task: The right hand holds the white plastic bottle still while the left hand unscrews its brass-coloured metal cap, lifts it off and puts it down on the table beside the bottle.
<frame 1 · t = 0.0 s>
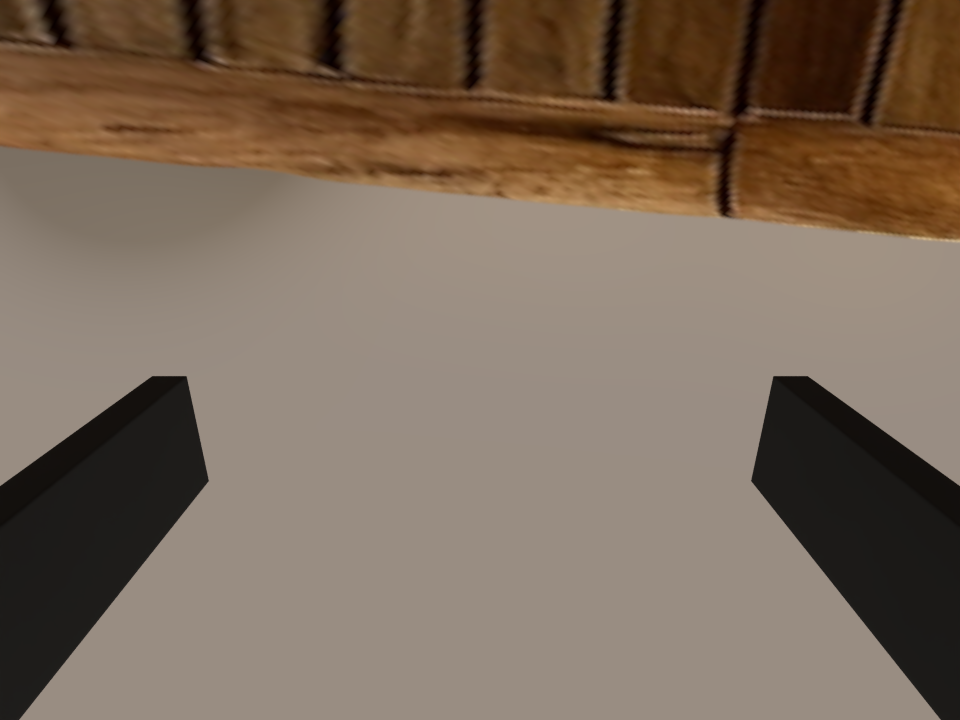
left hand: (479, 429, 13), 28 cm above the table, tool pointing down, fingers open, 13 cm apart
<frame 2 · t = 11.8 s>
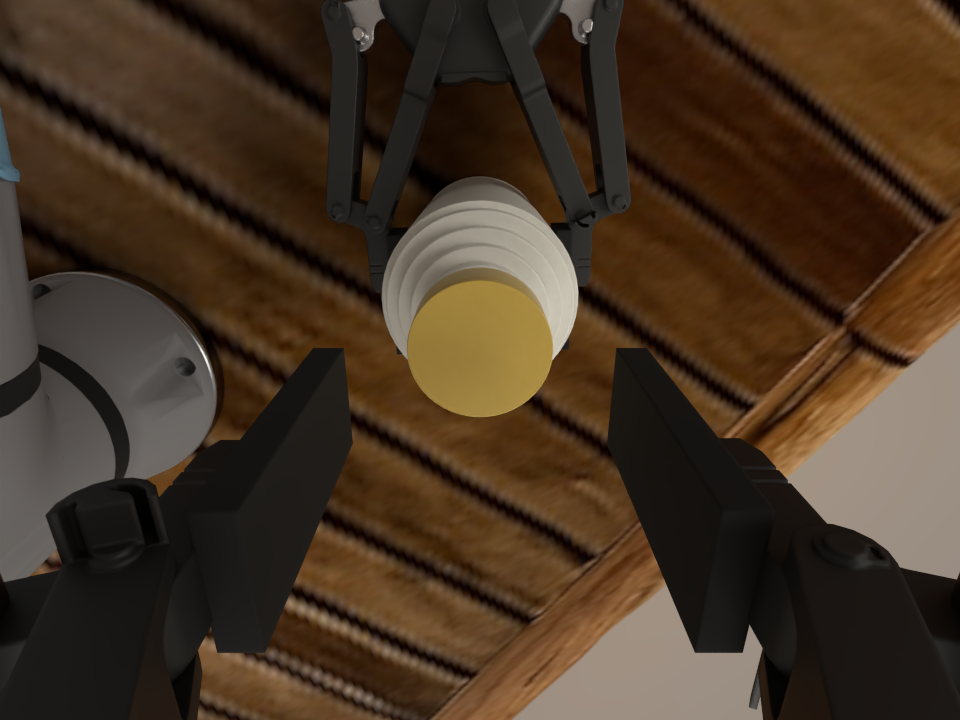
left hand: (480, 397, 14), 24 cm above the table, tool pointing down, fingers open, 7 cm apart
right hand: (482, 343, 32), fingers closed on bottle, 8 cm apart
cap: (480, 348, 18), point 20 cm above the table, screwed on, not yet turned
bottle: (479, 240, 36), on the table, touching right hand
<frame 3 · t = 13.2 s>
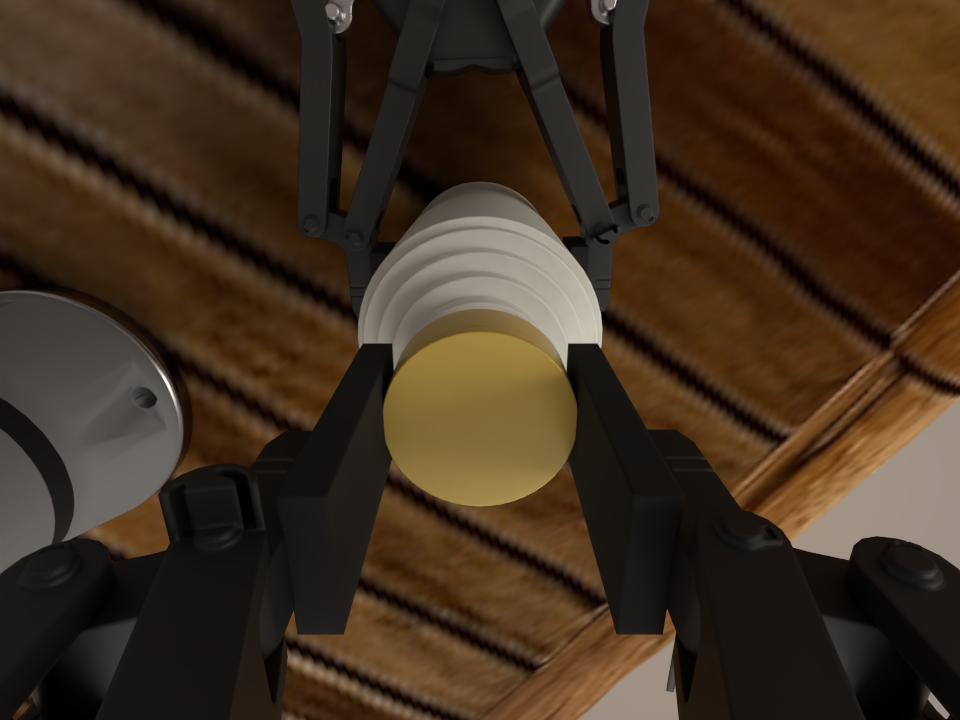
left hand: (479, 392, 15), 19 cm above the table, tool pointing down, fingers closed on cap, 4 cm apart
cap: (480, 418, 13), point 20 cm above the table, screwed on, not yet turned, touching left hand
bottle: (480, 254, 32), on the table, touching right hand
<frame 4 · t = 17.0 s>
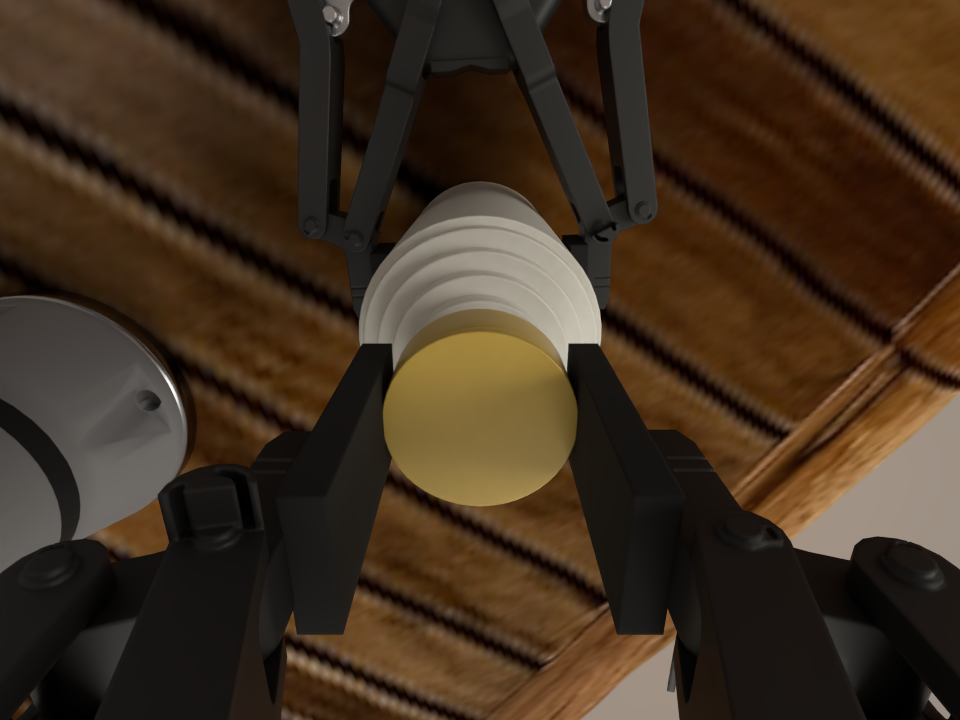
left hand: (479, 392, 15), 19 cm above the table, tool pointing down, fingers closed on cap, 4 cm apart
cap: (480, 418, 13), point 20 cm above the table, turned 122° so far, risen 0.1 cm, still on its thread, touching left hand
bottle: (480, 253, 32), on the table, touching right hand
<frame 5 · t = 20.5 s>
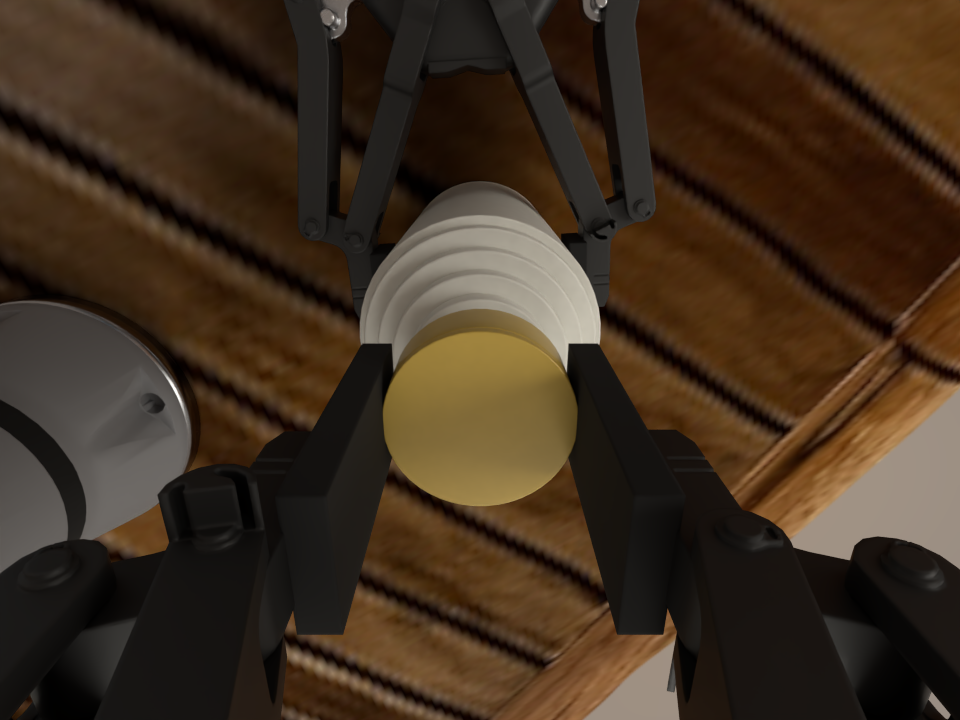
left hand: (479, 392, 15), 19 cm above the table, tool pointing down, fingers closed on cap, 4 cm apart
cap: (480, 418, 13), point 21 cm above the table, turned 244° so far, risen 0.3 cm, still on its thread, touching left hand
bottle: (480, 253, 32), on the table, touching right hand
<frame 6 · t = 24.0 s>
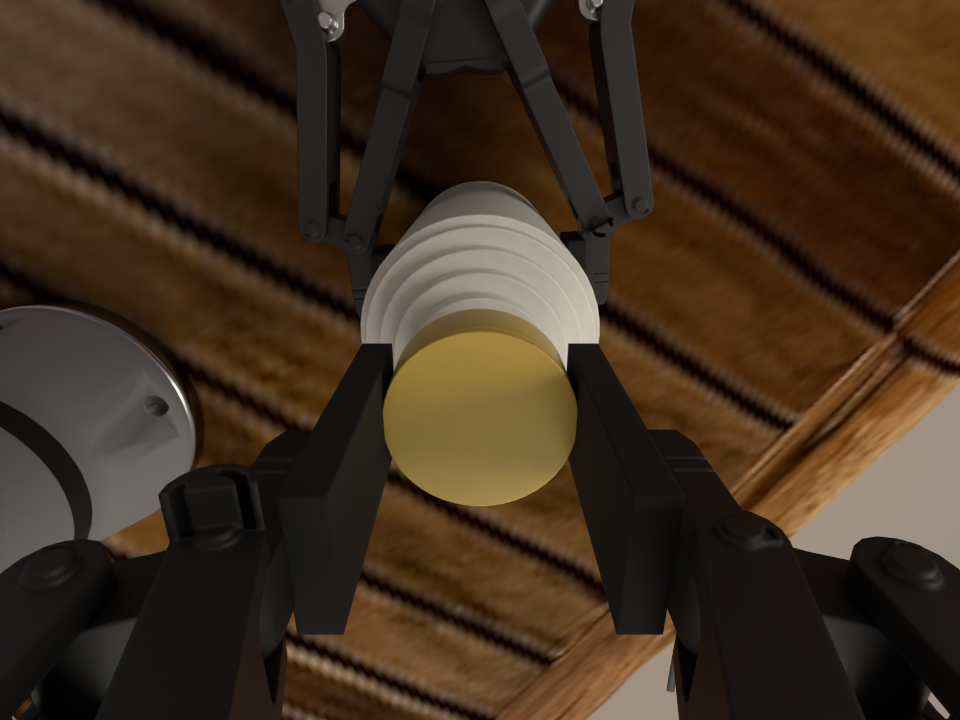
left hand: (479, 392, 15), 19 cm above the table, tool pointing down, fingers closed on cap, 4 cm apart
cap: (480, 418, 13), point 21 cm above the table, turned 366° so far, risen 0.4 cm, still on its thread, touching left hand
bottle: (480, 253, 32), on the table, touching right hand
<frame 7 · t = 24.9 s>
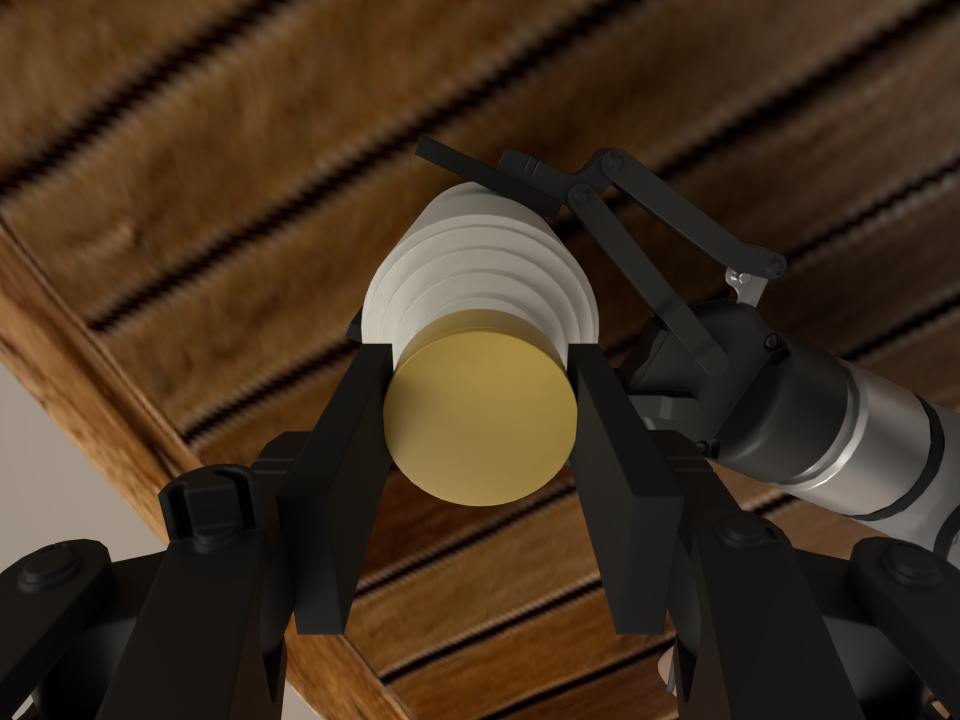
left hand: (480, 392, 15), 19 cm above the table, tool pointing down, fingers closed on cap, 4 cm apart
right hand: (386, 238, 26), fingers closed on bottle, 8 cm apart
cap: (480, 418, 13), point 21 cm above the table, off its thread, touching left hand
anatomical model: (743, 665, 45), on the table
bottle: (480, 253, 32), on the table, touching right hand
when the left hand's fingers open (1 cm above the table, at t = 30.3 s): cap drops 1 cm, point 2 cm above the table.
when the right hand's fingers open (7 cm above the table, at t = 31.5 s): bottle stays where it is, on the table.
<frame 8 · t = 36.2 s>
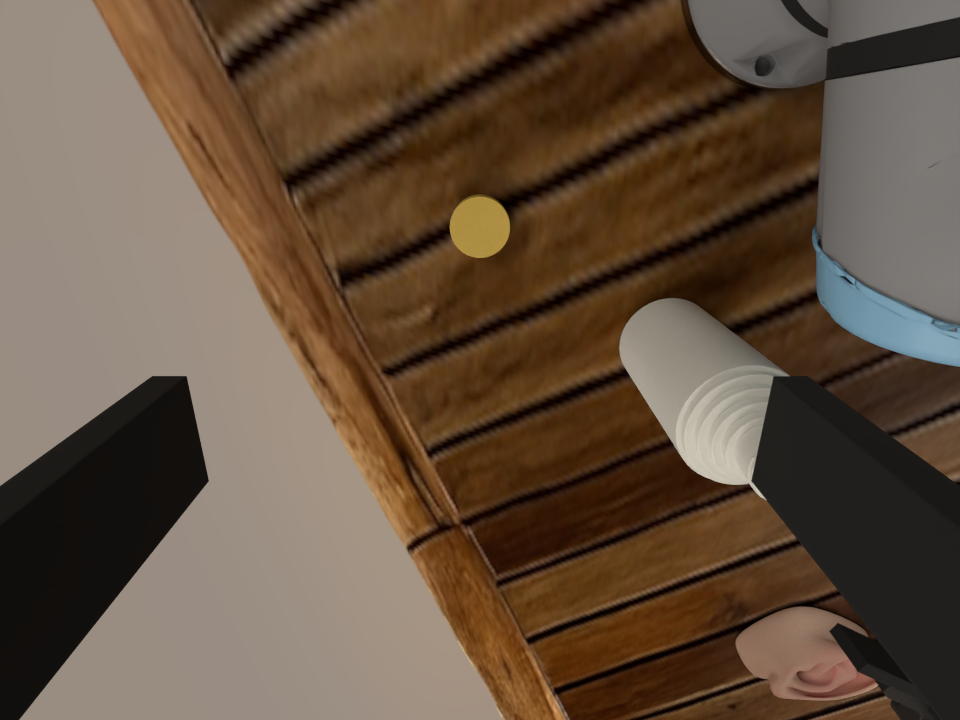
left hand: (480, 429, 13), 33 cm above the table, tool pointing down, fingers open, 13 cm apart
cap: (480, 227, 42), point 2 cm above the table, off its thread
anatomical model: (797, 644, 60), on the table
bottle: (666, 343, 47), on the table
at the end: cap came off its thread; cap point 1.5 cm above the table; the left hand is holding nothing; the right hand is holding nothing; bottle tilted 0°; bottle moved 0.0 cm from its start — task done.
